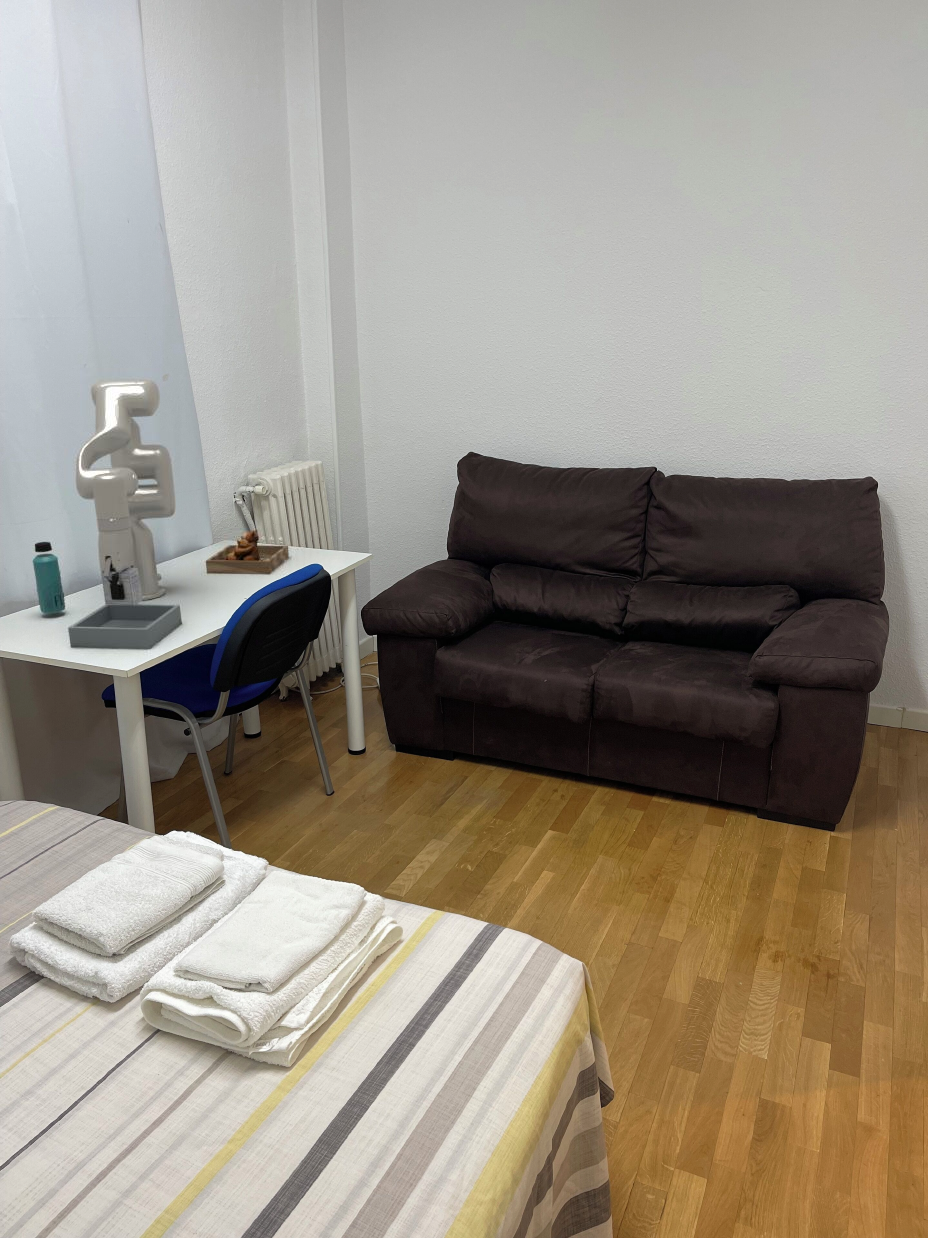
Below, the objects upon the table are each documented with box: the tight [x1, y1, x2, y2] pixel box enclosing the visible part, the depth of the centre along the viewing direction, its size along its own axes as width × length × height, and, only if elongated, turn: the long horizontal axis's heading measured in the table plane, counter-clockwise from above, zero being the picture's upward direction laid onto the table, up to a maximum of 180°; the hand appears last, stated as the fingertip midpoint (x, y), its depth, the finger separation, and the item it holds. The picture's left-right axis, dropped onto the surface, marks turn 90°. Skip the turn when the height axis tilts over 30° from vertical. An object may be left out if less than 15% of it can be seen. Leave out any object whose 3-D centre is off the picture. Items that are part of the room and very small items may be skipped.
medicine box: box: [100, 568, 143, 605], centre depth 239 cm, size 8×4×9 cm, turn 80°
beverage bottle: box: [32, 541, 66, 614], centre depth 257 cm, size 6×7×20 cm
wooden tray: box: [205, 544, 290, 575], centre depth 308 cm, size 21×20×4 cm
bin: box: [67, 603, 183, 650], centre depth 242 cm, size 20×20×5 cm
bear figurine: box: [224, 529, 269, 561], centre depth 304 cm, size 14×15×12 cm
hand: (123, 595), depth 240 cm, fingers closed on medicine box, 4 cm apart
